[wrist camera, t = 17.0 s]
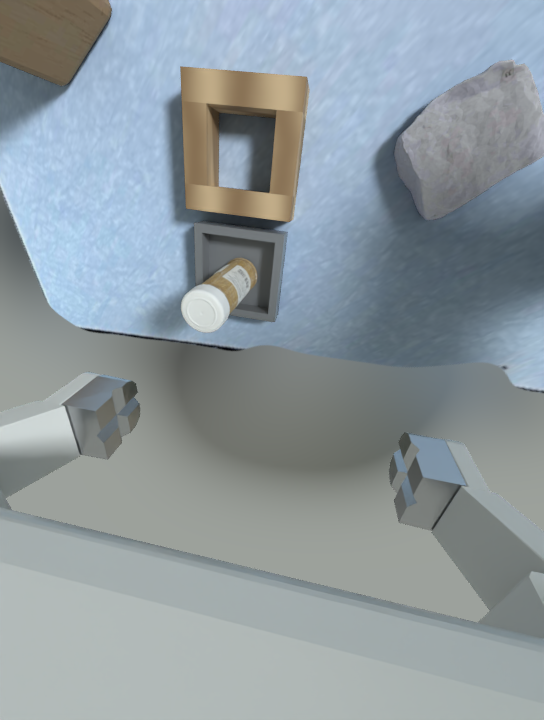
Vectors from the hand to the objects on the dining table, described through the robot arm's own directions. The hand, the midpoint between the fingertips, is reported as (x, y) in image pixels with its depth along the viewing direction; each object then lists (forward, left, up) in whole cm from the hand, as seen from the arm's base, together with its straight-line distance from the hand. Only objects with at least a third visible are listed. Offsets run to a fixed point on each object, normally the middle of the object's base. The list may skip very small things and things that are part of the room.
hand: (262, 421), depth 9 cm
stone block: (-13, -12, -34) cm, 38 cm away
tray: (+9, +4, -33) cm, 35 cm away
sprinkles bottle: (+9, +4, -33) cm, 34 cm away
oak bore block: (+9, -9, -33) cm, 35 cm away
